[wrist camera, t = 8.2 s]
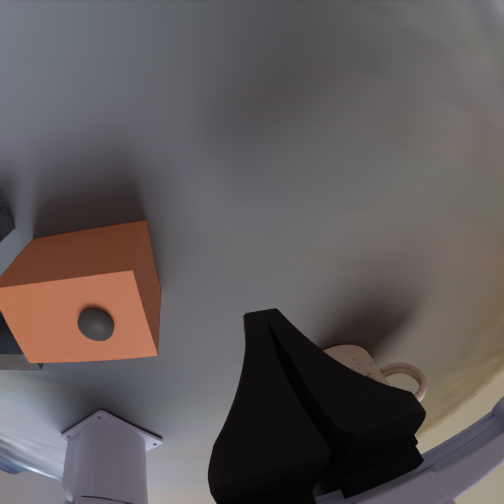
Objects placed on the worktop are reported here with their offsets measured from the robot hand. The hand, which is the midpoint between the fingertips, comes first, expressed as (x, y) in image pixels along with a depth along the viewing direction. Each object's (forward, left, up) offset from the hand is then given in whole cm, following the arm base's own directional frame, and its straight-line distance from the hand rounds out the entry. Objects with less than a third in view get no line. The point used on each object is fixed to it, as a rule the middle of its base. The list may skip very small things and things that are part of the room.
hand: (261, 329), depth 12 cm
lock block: (-7, +5, -8) cm, 12 cm away
